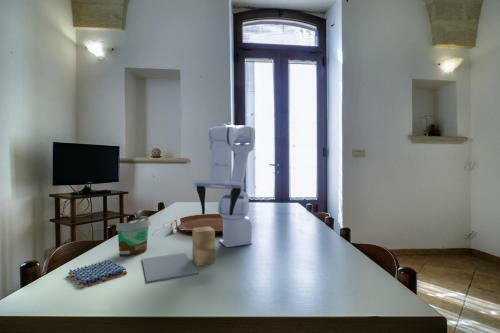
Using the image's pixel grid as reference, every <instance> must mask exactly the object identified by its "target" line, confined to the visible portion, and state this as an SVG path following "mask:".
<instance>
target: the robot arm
mask: <svg viewBox="0 0 500 333" xmlns="http://www.w3.org/2000/svg"><path fill="white" fill-rule="evenodd" d="M255 142H256V129H255V127H254V126H252V125H251V126H250V125H234V124H232V123H231V122H225V123H223V124H221V125H220V126H213V127H211V128H210V129H209V132H208V144H209V151H210V161H209V179H208V180H196V179H195V180H192V188H194V189H195V188H196V192H197V195H198V198H199V201H200V202H199V203H200V206H201V215H206V214H205V213H206V205H205V204H206V202H205V201H206V200H205V199H206V189H217V190H218V189H219V190H224V191H223V192H222V193H221V195H220V198H219V200H218V203H217V212H218V214H219V215H220V217H221V219H222V239H221V238H220V239H219V240H218V241H219V242H220V243H221V244H222V245H223V246H224V247H226V248H231V247H233V248H234V247H238V246H245V245H252V244H253V241H252V229H253V228H252V221H251V218H250V217H249V216H248V214H249V208H250V198H249V195H248V193H247V192H245V176H246V169H247V165H248V164H247V162H248V158H249V154H250V152H252V151H253V150H254V147H255V144H256V143H255ZM231 152H233V153H234V161H233V167H232V173H231V177H230V171H231V170H230V169H231V154H232V153H231Z"/></svg>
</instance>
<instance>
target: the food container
mask: <svg viewBox="0 0 500 333" xmlns="http://www.w3.org/2000/svg"><path fill="white" fill-rule="evenodd" d="M151 225H152V223H151V219H150V217H149V216H146V215H145V216H144V215H140V217H139V219H136V220H135V219H134V220H129V221H127V222H124V223H121V222H118V223H117V225H116V226H115V227H116V230H115V231H117V242H118V254H119V257H122V258H123V257H126V258H127V257H135V256H139V255H141V254H144V253H146V252H147V249H148V248H147V247H148V237H149V236H148V235H149V227H150V226H151Z"/></svg>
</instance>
